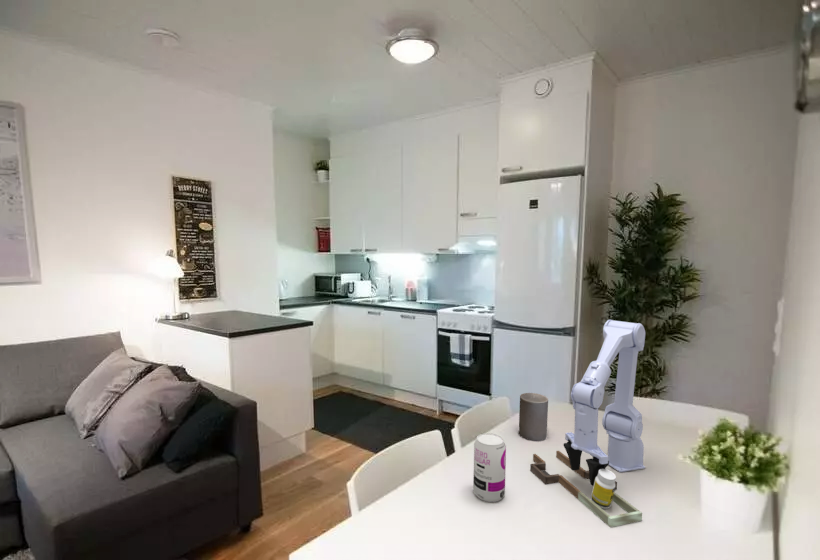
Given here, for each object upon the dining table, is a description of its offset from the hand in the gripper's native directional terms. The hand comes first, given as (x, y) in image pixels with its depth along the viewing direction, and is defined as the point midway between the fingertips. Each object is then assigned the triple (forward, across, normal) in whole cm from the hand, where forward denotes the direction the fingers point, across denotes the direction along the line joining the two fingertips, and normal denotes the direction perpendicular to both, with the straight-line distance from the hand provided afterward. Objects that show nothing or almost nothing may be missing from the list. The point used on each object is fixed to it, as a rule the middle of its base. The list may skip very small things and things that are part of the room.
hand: (584, 476), depth 110 cm
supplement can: (+3, -4, -26) cm, 27 cm away
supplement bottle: (+3, +6, 0) cm, 7 cm away
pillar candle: (+4, -33, +5) cm, 34 cm away
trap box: (+3, -1, 0) cm, 4 cm away
